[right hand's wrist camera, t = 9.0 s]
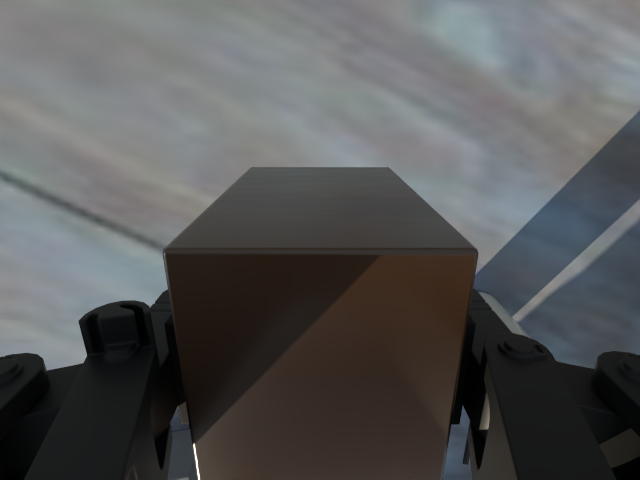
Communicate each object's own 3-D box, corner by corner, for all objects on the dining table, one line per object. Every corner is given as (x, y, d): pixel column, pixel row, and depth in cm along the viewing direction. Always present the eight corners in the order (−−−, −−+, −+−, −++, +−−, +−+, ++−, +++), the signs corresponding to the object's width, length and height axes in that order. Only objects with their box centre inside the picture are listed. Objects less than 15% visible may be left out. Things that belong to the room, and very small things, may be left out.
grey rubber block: (155, 435, 34) (128, 488, 29) (206, 424, 34) (188, 476, 29) (176, 473, 36) (154, 529, 31) (225, 463, 35) (211, 519, 30)
